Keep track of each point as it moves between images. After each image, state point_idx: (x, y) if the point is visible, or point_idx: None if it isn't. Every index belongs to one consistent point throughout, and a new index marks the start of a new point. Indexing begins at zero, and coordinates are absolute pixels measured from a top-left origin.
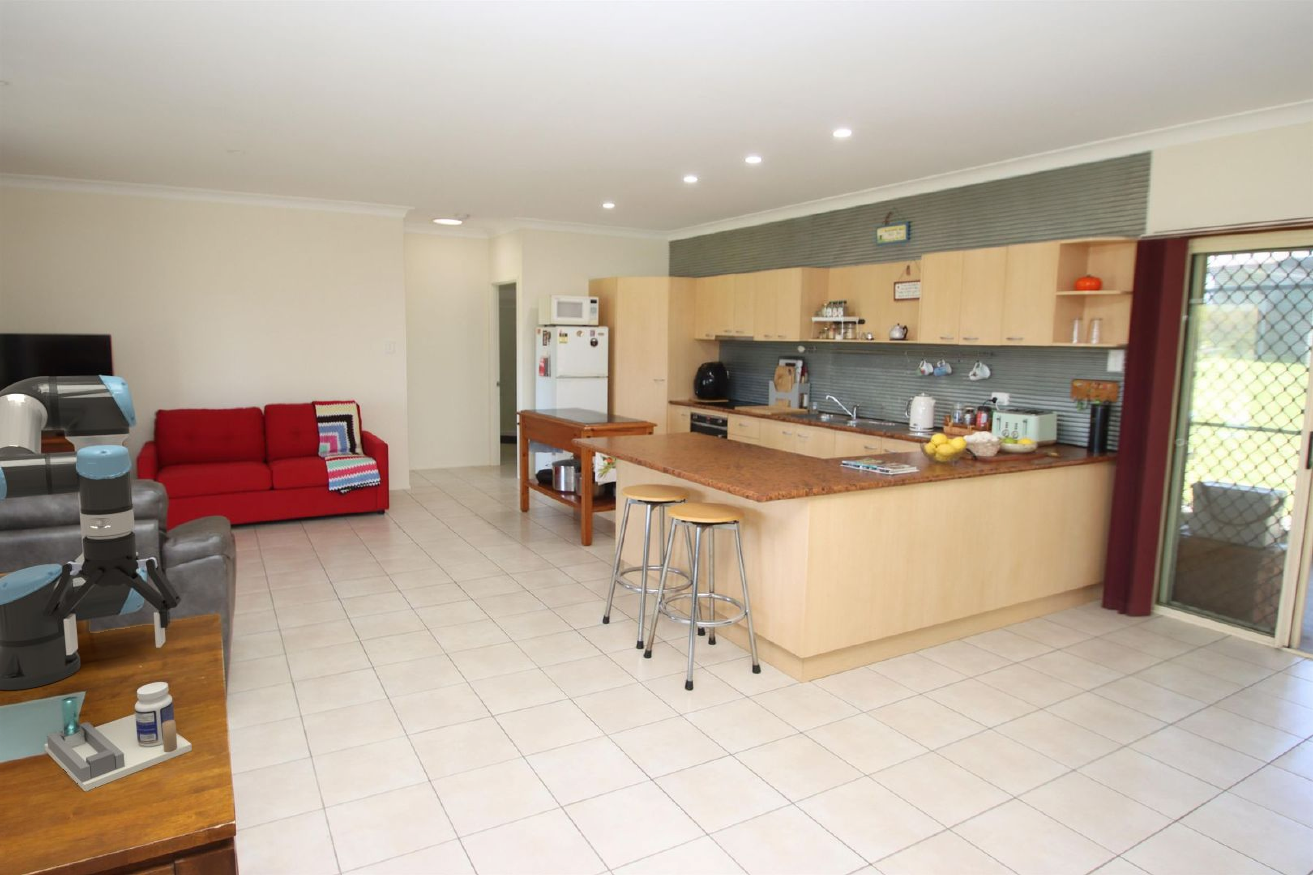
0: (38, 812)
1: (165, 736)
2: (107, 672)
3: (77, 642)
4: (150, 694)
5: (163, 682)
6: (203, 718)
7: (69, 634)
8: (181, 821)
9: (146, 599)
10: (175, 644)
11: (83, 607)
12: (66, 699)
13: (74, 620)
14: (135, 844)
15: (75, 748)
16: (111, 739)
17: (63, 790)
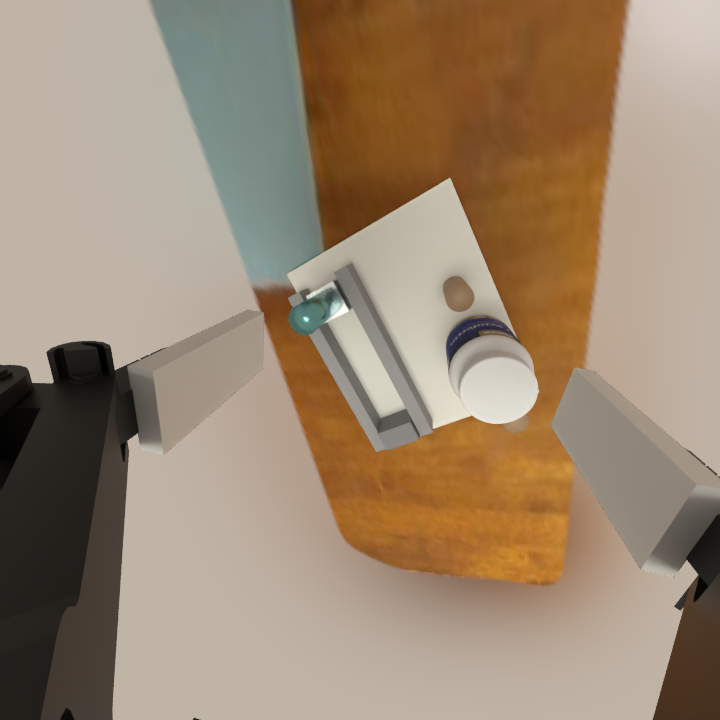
0: (340, 461)
1: None
2: None
3: (251, 318)
4: (492, 422)
5: (527, 370)
6: (570, 249)
7: (215, 406)
8: (511, 561)
9: (667, 685)
10: None
11: None
12: (297, 315)
13: (181, 372)
14: (460, 574)
15: (343, 316)
16: (397, 307)
17: (356, 422)
